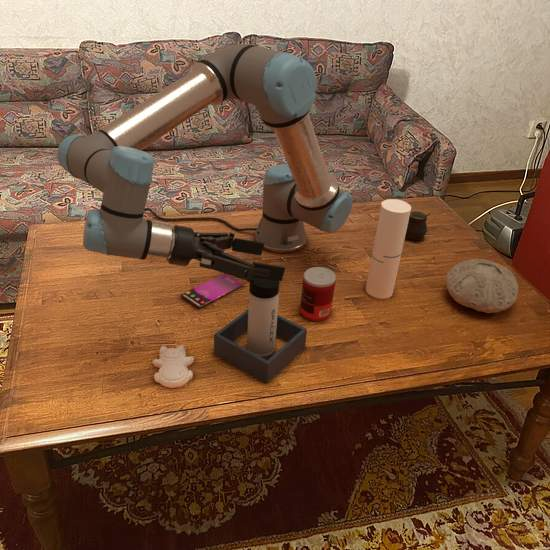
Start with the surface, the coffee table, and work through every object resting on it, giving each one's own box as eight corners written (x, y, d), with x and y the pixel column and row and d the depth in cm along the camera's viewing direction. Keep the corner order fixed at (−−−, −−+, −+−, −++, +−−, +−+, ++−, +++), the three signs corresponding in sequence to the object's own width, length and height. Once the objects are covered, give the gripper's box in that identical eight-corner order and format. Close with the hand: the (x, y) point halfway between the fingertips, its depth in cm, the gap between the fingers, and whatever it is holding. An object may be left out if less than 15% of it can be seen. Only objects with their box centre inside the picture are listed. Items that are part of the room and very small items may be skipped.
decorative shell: (494, 331, 135) (506, 298, 130) (429, 299, 145) (438, 267, 139) (523, 301, 147) (535, 269, 141) (461, 273, 156) (470, 243, 151)
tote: (213, 353, 123) (213, 334, 120) (254, 321, 133) (255, 303, 130) (266, 383, 116) (268, 364, 113) (305, 347, 126) (307, 329, 123)
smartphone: (179, 296, 139) (179, 294, 139) (223, 274, 149) (223, 271, 148) (198, 309, 135) (198, 306, 135) (242, 286, 145) (242, 283, 144)
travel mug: (244, 341, 127) (247, 268, 116) (273, 341, 127) (278, 268, 116) (245, 360, 122) (248, 285, 111) (275, 359, 122) (281, 285, 111)
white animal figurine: (195, 349, 124) (195, 338, 122) (192, 388, 114) (191, 377, 112) (155, 349, 123) (154, 338, 121) (148, 388, 113) (147, 377, 111)
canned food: (334, 307, 140) (339, 270, 134) (326, 325, 133) (331, 288, 127) (305, 299, 142) (309, 263, 135) (295, 317, 135) (299, 280, 129)
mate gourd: (407, 229, 176) (413, 200, 171) (429, 237, 173) (436, 208, 167) (397, 237, 171) (403, 208, 166) (420, 246, 168) (426, 216, 162)
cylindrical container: (392, 300, 144) (411, 214, 130) (364, 296, 144) (380, 210, 131) (393, 285, 149) (411, 201, 135) (366, 281, 150) (381, 197, 136)
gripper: (156, 240, 117) (250, 255, 125) (176, 289, 95) (287, 304, 104) (164, 206, 115) (259, 224, 123) (186, 248, 93) (298, 267, 101)
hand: (272, 261), depth 113 cm, fingers open, 13 cm apart
